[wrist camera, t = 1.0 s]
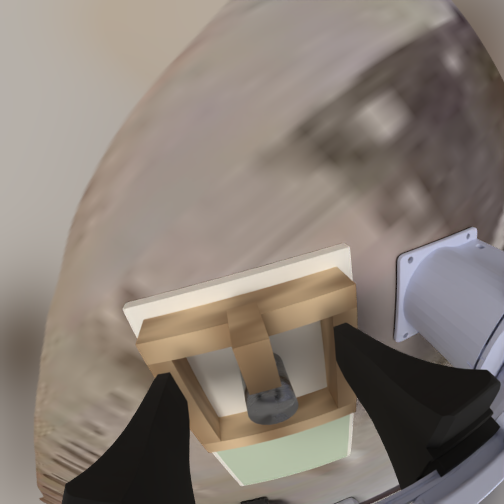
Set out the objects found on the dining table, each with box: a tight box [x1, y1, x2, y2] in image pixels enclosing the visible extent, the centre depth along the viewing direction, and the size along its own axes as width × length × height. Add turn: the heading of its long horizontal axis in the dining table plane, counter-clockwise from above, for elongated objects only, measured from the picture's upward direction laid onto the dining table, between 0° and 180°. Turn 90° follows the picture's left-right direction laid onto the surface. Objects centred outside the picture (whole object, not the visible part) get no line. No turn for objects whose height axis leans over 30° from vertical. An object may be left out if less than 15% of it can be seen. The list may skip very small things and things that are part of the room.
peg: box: [240, 353, 299, 425], centre depth 16 cm, size 3×3×4 cm
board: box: [123, 243, 354, 486], centre depth 21 cm, size 14×28×1 cm, turn 13°
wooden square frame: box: [136, 266, 358, 453], centre depth 15 cm, size 12×13×6 cm
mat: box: [217, 414, 350, 485], centre depth 23 cm, size 13×13×1 cm
